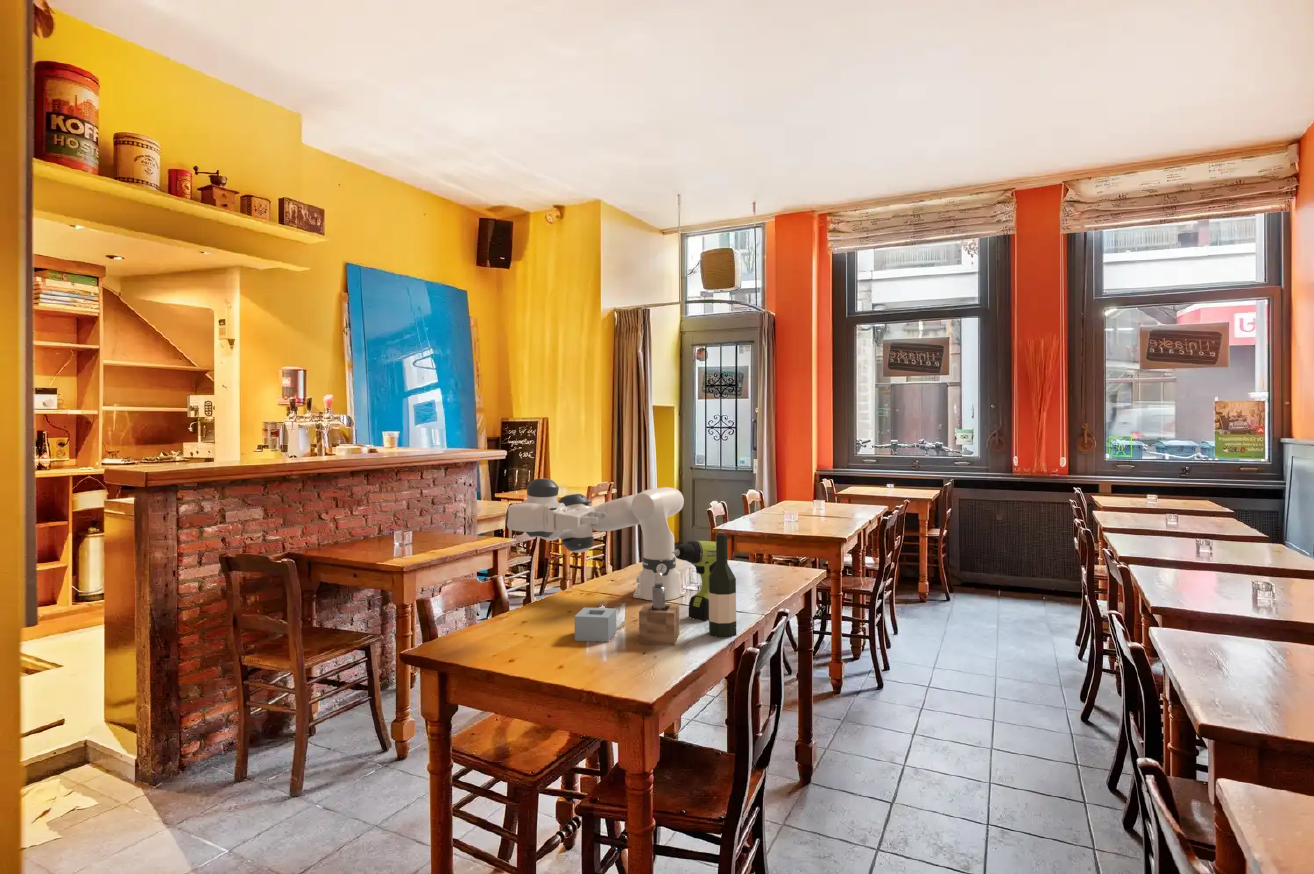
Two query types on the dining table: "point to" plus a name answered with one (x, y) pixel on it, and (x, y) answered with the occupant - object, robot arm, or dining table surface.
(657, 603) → the stepped metal cylinder
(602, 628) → the socket block
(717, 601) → the wine bottle
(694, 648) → the dining table surface
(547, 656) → the dining table surface
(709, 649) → the dining table surface
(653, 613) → the block
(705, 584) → the cordless drill
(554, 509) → the robot arm
